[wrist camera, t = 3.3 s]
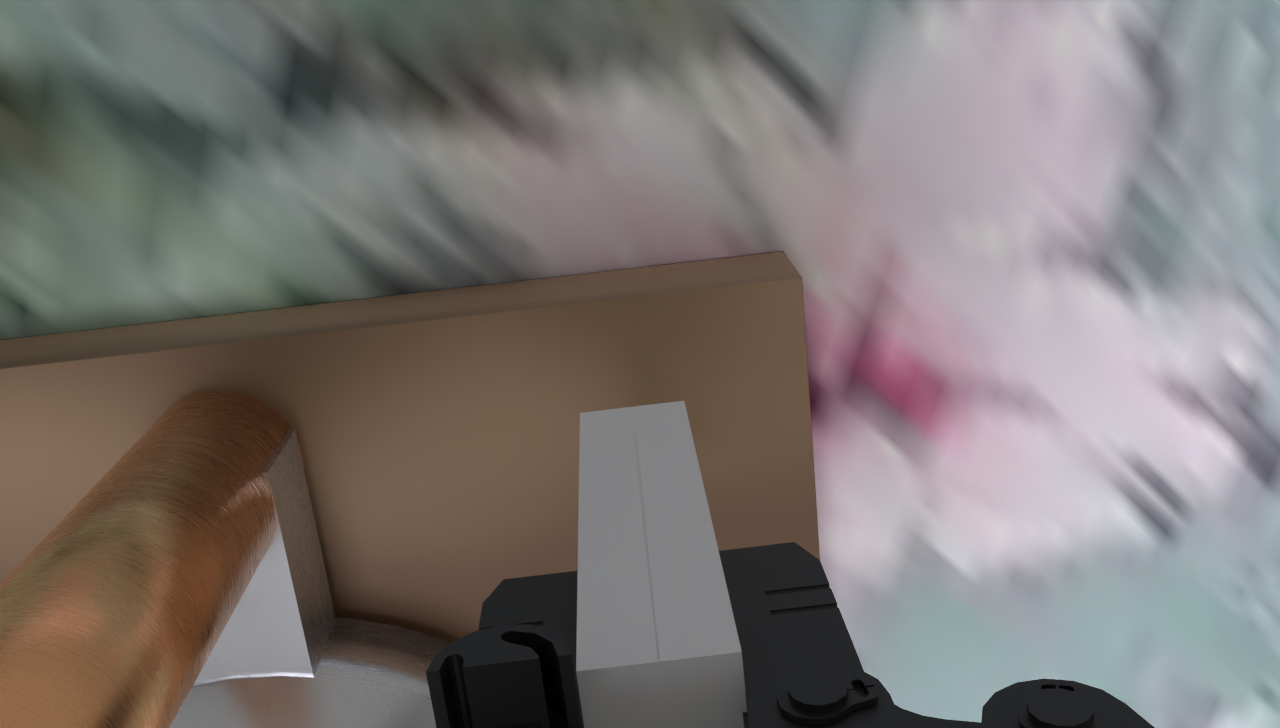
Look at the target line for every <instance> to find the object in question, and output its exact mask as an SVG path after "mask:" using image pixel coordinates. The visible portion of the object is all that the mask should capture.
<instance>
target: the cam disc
mask: <svg viewBox="0 0 1280 728" xmlns="http://www.w3.org/2000/svg"><path fill="white" fill-rule="evenodd" d="M449 644H450V643H449V642H447V641H444V640H442V639H440V638H437V637H433V636H430V635H426V634H423V633H420V632H416V631H413V630H409V629H406V628H402V627H399V626H395V625H390V624H384V623H378V622H372V621H366V620H361V619H355V618H343V617H335V613H334V608H333V604H332V599H331V594H330V589H329V585H328V580H327V575H326V571H325V566H324V561H323V557H322V552H321V547H320V543H319V538H318V533H317V529H316V524H315V519H314V515H313V510H312V505H311V501H310V496H309V491H308V487H307V482H306V477H305V472H304V462H303V455H302V451H301V447H300V444H299V442H298V440H297V435H296V430H295V429H293V430H292V429H291V427H290V426H289V425H288V424H287V422H286V421H285V420H284V419H283V418H282V417H281V416H280V415H279V414H278V413H277V412H276V411H274V410H273V409H272V408H270V407H269V406H267V405H266V404H264V403H262V402H261V401H259V400H257V399H254V398H252V397H250V396H247V395H243V394H240V393H235V392H230V391H208V392H202V393H198V394H195V395H191V396H189V397H186V398H184V399H182V400H180V401H179V402H177V403H176V404H174V405H172V406H171V407H170V408H169V409H168V410H167V411H166V412H165V413H164V414H163V415H162V416H161V417H160V418H159V419H158V420H157V421H156V422H155V423H154V424H153V425H152V426H151V427H150V428H149V429H148V430H147V431H146V432H145V433H144V435H143V436H142V437H141V438H140V439H139V440H138V441H137V442H136V443H135V444H134V445H133V446H132V447H131V448H130V449H129V450H128V451H127V452H126V453H125V454H124V455H123V456H122V458H121V459H120V460H119V461H118V462H117V463H116V464H115V465H114V466H113V467H112V468H111V469H110V470H109V471H108V472H107V473H106V474H105V475H104V476H103V477H102V478H101V479H100V481H99V482H98V483H97V484H96V485H95V486H94V487H93V488H92V489H91V490H90V491H89V492H88V493H87V494H86V495H85V496H84V497H83V498H82V499H81V500H80V501H79V502H78V504H77V505H76V506H75V507H74V508H73V509H72V510H71V511H70V512H69V513H68V514H67V515H66V516H65V517H64V518H63V519H62V520H61V521H60V522H59V523H58V524H57V525H56V527H55V528H54V529H53V530H52V531H51V532H50V533H49V534H48V535H47V536H46V537H45V538H44V539H43V540H42V541H41V542H40V543H39V544H38V545H37V546H36V547H35V548H34V550H33V551H32V552H31V553H30V554H29V555H28V556H27V557H26V558H25V559H24V560H23V561H22V562H21V563H20V564H19V565H18V566H17V567H16V568H15V569H14V570H13V571H12V573H11V574H10V575H9V576H8V577H7V578H6V579H5V580H4V581H3V582H2V583H1V584H0V728H436V723H435V718H434V712H433V707H432V702H431V697H430V692H429V686H428V681H427V676H426V670H427V669H428V667H429V665H430V663H431V661H432V660H433V658H434V656H435V655H436V654H438V653H439V652H440V651H441V650H443V649H444V648H445V647H446V646H448V645H449Z"/></svg>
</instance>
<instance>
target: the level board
mask: <svg viewBox="0 0 1280 728" xmlns="http://www.w3.org/2000/svg"><path fill="white" fill-rule="evenodd" d="M208 391H230V392H235V393H240V394H243V395H247V396H250V397H252V398H254V399H257V400H259V401H261V402H262V403H264V404H266V405H267V406H269V407H270V408H272V409H273V410H274V411H276V412H277V413H278V414H279V415H280V416H281V417H282V418H283V419H284V420H285V421H286V422H287V424H288V425H289V426H290V427H291V429H292V430H293V429H295V430H296V435H297V440H298V442H299V444H300V447H301V451H302V455H303V462H304V472H305V477H306V482H307V487H308V491H309V496H310V501H311V505H312V510H313V515H314V519H315V524H316V529H317V533H318V538H319V543H320V547H321V552H322V557H323V561H324V566H325V571H326V575H327V580H328V585H329V589H330V594H331V599H332V604H333V608H334V613H335V617H343V618H355V619H361V620H366V621H372V622H378V623H384V624H390V625H395V626H399V627H402V628H406V629H409V630H413V631H416V632H420V633H423V634H426V635H430V636H433V637H437V638H440V639H442V640H444V641H447V642H449V643H451V642H453V641H455V640H457V639H459V638H461V637H464V636H466V635H468V634H470V633H473V632H475V631H478V630H479V629H478V628H479V622H480V616H481V610H482V604H483V602H484V601H485V600H486V599H487V598H488V596H489V595H490V594H491V593H492V592H493V591H494V590H495V588H496V587H497V586H498V585H499V584H500V583H501V582H502V580H503V579H511V578H519V577H527V576H536V575H544V574H553V573H561V572H570V571H578V509H579V442H580V413H583V412H591V411H600V410H608V409H617V408H625V407H634V406H643V405H651V404H660V403H668V402H677V401H684V402H685V406H686V410H687V415H688V419H689V423H690V428H691V432H692V437H693V441H694V445H695V450H696V454H697V458H698V463H699V467H700V472H701V476H702V480H703V485H704V489H705V493H706V498H707V502H708V507H709V511H710V515H711V520H712V524H713V528H714V533H715V537H716V542H717V546H718V550H719V551H722V550H730V549H739V548H747V547H756V546H764V545H773V544H781V543H790V542H795V543H797V544H798V545H799V546H801V547H802V548H804V549H805V550H806V551H808V552H809V553H810V554H812V555H813V556H815V557H816V558H817V559H819V560H820V555H819V539H818V523H817V508H816V492H815V476H814V460H813V445H812V429H811V413H810V397H809V382H808V366H807V350H806V334H805V319H804V303H803V287H802V278H801V276H800V275H799V273H798V272H797V270H796V269H795V268H794V266H793V265H792V263H791V262H790V261H789V259H788V258H787V256H786V255H785V253H784V252H783V251H781V252H772V253H763V254H755V255H746V256H737V257H728V258H719V259H710V260H702V261H693V262H684V263H675V264H666V265H657V266H649V267H640V268H631V269H622V270H613V271H604V272H596V273H587V274H578V275H569V276H560V277H552V278H543V279H534V280H525V281H516V282H507V283H499V284H490V285H481V286H472V287H463V288H454V289H446V290H437V291H428V292H419V293H410V294H401V295H393V296H384V297H375V298H366V299H357V300H349V301H340V302H331V303H322V304H313V305H304V306H296V307H287V308H278V309H269V310H260V311H251V312H243V313H234V314H225V315H216V316H207V317H198V318H190V319H181V320H172V321H163V322H154V323H146V324H137V325H128V326H119V327H110V328H101V329H93V330H84V331H75V332H66V333H57V334H48V335H40V336H31V337H22V338H13V339H4V340H0V584H1V583H2V582H3V581H4V580H5V579H6V578H7V577H8V576H9V575H10V574H11V573H12V571H13V570H14V569H15V568H16V567H17V566H18V565H19V564H20V563H21V562H22V561H23V560H24V559H25V558H26V557H27V556H28V555H29V554H30V553H31V552H32V551H33V550H34V548H35V547H36V546H37V545H38V544H39V543H40V542H41V541H42V540H43V539H44V538H45V537H46V536H47V535H48V534H49V533H50V532H51V531H52V530H53V529H54V528H55V527H56V525H57V524H58V523H59V522H60V521H61V520H62V519H63V518H64V517H65V516H66V515H67V514H68V513H69V512H70V511H71V510H72V509H73V508H74V507H75V506H76V505H77V504H78V502H79V501H80V500H81V499H82V498H83V497H84V496H85V495H86V494H87V493H88V492H89V491H90V490H91V489H92V488H93V487H94V486H95V485H96V484H97V483H98V482H99V481H100V479H101V478H102V477H103V476H104V475H105V474H106V473H107V472H108V471H109V470H110V469H111V468H112V467H113V466H114V465H115V464H116V463H117V462H118V461H119V460H120V459H121V458H122V456H123V455H124V454H125V453H126V452H127V451H128V450H129V449H130V448H131V447H132V446H133V445H134V444H135V443H136V442H137V441H138V440H139V439H140V438H141V437H142V436H143V435H144V433H145V432H146V431H147V430H148V429H149V428H150V427H151V426H152V425H153V424H154V423H155V422H156V421H157V420H158V419H159V418H160V417H161V416H162V415H163V414H164V413H165V412H166V411H167V410H168V409H169V408H170V407H171V406H172V405H174V404H176V403H177V402H179V401H180V400H182V399H184V398H186V397H189V396H191V395H195V394H198V393H202V392H208Z"/></svg>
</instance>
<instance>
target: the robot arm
mask: <svg viewBox="0 0 1280 728" xmlns="http://www.w3.org/2000/svg"><path fill="white" fill-rule="evenodd" d="M478 629H479V630H478V631H475V632H473V633H470V634H468V635H466V636H464V637H461V638H459V639H457V640H455V641H453V642H451V643H450V644H449V645H448V646H446V647H445V648H444V649H443V650H441V651H440V652H439V653H438V654H436V655H435V656H434V658H433V660H432V661H431V663H430V665H429V667H428V669H427V670H426V676H427V681H428V686H429V692H430V697H431V702H432V707H433V712H434V718H435V723H436V728H1154V727H1153V726H1152V725H1151V724H1149V723H1148V722H1147V721H1146V720H1144V719H1143V718H1142V717H1141V716H1140V715H1138V714H1137V713H1136V712H1135V711H1134V710H1132V709H1131V708H1130V707H1129V706H1128V705H1126V704H1125V703H1123V702H1122V701H1120V700H1118V699H1117V698H1115V697H1113V696H1112V695H1110V694H1108V693H1107V692H1105V691H1103V690H1101V689H1098V688H1095V687H1091V686H1088V685H1085V684H1081V683H1078V682H1075V681H1066V680H1055V679H1039V680H1032V681H1025V682H1018V683H1015V684H1013V685H1011V686H1008V687H1006V688H1004V689H1002V690H1000V691H998V692H995V693H994V695H993V696H992V697H991V698H990V699H989V700H988V702H987V703H986V704H985V705H984V706H983V711H982V723H978V722H967V721H956V720H945V719H939V718H933V717H927V716H922V715H919V714H916V713H913V712H910V711H907V710H904V709H902V708H900V707H898V706H896V705H894V703H893V701H892V698H891V696H890V694H889V693H888V691H887V690H886V689H885V688H884V686H883V685H882V684H881V682H880V681H879V680H878V679H876V678H874V677H873V676H871V675H869V674H867V673H865V672H864V671H863V668H862V666H861V663H860V661H859V658H858V655H857V653H856V650H855V648H854V645H853V643H852V640H851V638H850V635H849V633H848V630H847V628H846V625H845V623H844V620H843V618H842V615H841V613H840V610H839V608H837V603H836V600H835V598H834V595H833V593H832V590H831V588H830V587H829V582H828V580H827V577H826V575H825V572H824V570H823V567H822V565H821V562H820V560H819V559H817V558H816V557H815V556H813V555H812V554H810V553H809V552H808V551H806V550H805V549H804V548H802V547H801V546H799V545H798V544H797V543H795V542H790V543H781V544H773V545H764V546H756V547H747V548H739V549H730V550H722V551H719V550H718V546H717V542H716V537H715V533H714V528H713V524H712V520H711V515H710V511H709V507H708V502H707V498H706V493H705V489H704V485H703V480H702V476H701V472H700V467H699V463H698V458H697V454H696V450H695V445H694V441H693V437H692V432H691V428H690V423H689V419H688V415H687V410H686V406H685V402H684V401H677V402H668V403H660V404H651V405H643V406H634V407H625V408H617V409H608V410H600V411H591V412H583V413H580V442H579V509H578V571H570V572H561V573H553V574H544V575H536V576H527V577H519V578H511V579H503V580H502V582H501V583H500V584H499V585H498V586H497V587H496V588H495V590H494V591H493V592H492V593H491V594H490V595H489V596H488V598H487V599H486V600H485V601H484V602H483V604H482V610H481V616H480V622H479V628H478Z"/></svg>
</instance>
